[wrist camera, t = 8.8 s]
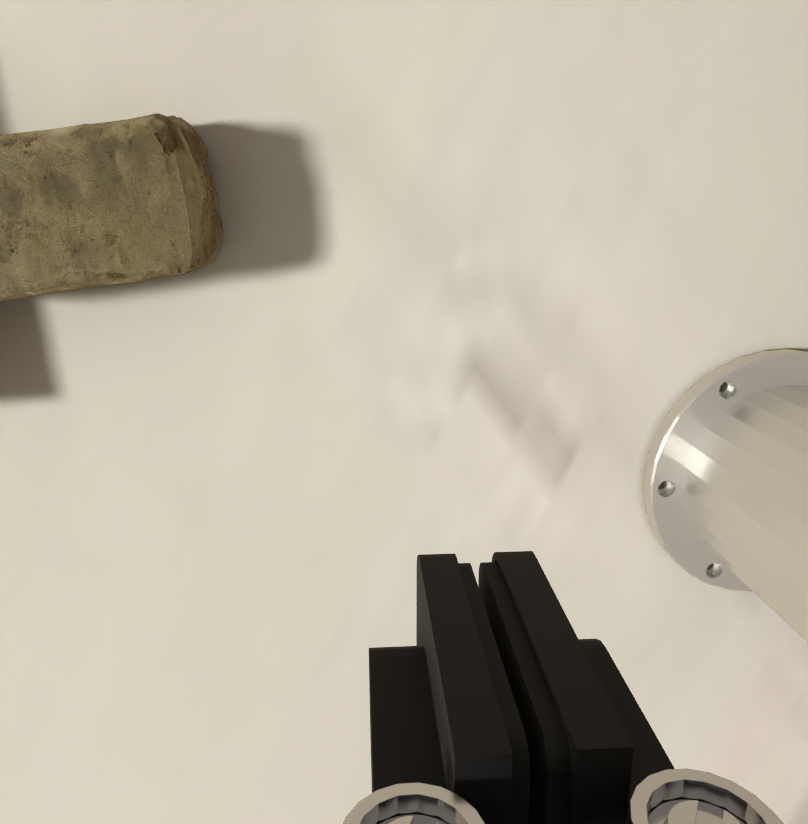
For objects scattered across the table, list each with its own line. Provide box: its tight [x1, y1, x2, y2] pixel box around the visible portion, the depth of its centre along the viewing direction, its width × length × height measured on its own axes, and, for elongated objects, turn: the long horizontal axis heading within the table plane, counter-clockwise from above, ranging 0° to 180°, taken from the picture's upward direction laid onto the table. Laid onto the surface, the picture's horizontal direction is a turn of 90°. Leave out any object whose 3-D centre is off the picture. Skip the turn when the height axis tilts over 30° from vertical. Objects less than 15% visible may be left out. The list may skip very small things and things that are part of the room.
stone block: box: [0, 114, 223, 301], centre depth 28 cm, size 6×12×5 cm, turn 99°
